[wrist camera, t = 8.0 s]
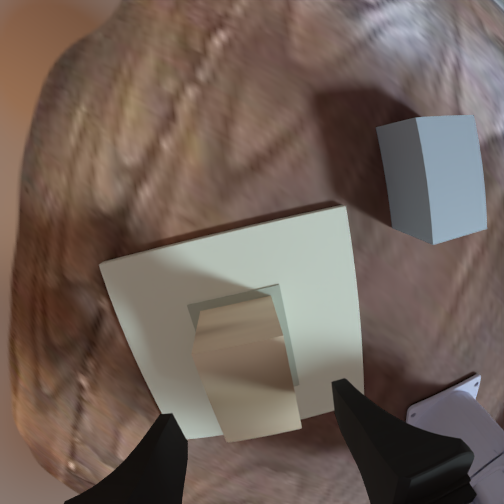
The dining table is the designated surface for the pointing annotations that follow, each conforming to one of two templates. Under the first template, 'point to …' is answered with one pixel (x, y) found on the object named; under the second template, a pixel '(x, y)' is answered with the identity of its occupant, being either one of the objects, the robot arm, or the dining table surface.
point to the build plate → (240, 290)
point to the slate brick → (434, 177)
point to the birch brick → (246, 370)
